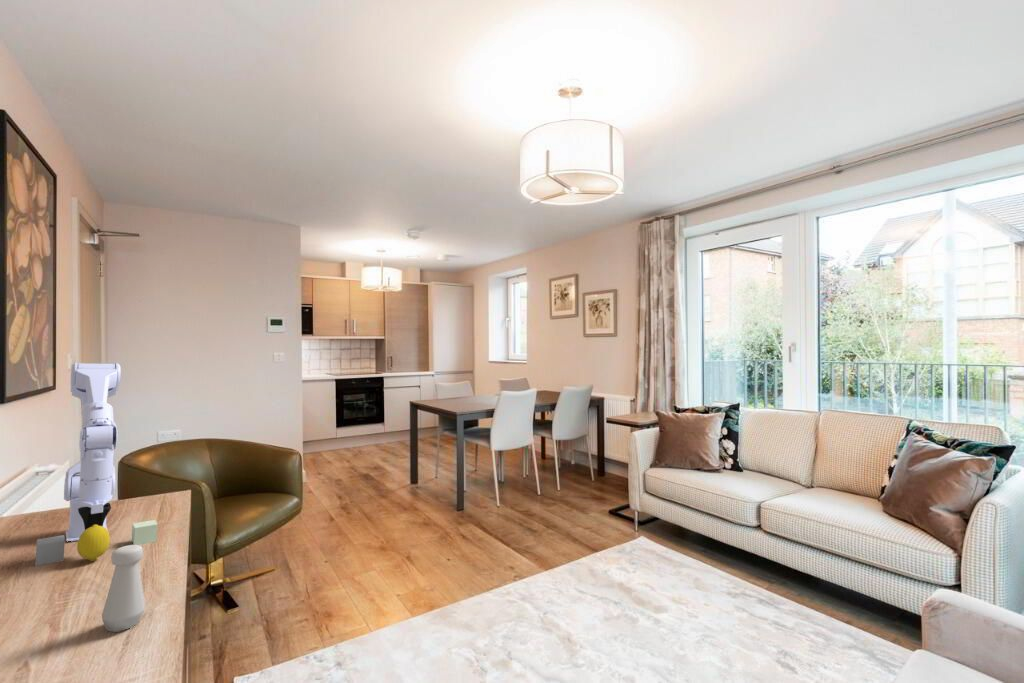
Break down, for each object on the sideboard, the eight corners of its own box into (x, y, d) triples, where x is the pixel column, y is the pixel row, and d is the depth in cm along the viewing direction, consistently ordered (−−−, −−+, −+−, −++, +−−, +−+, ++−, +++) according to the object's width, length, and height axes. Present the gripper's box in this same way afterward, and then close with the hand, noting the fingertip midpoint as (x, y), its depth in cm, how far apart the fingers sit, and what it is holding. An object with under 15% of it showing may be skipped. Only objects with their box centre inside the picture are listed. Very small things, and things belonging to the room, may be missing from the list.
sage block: (131, 541, 120) (132, 523, 120) (153, 537, 123) (154, 519, 124) (133, 547, 117) (134, 528, 117) (156, 542, 120) (157, 524, 120)
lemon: (89, 567, 105) (92, 529, 105) (69, 564, 106) (71, 527, 106) (115, 557, 110) (117, 521, 111) (95, 555, 111) (97, 519, 112)
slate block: (35, 560, 109) (36, 539, 109) (62, 554, 112) (64, 535, 112) (35, 566, 105) (36, 545, 105) (63, 560, 108) (64, 540, 109)
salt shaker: (96, 638, 78) (100, 556, 79) (106, 621, 83) (110, 544, 84) (141, 629, 81) (145, 550, 82) (147, 613, 86) (151, 539, 87)
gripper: (71, 475, 114) (68, 534, 114) (74, 487, 104) (70, 551, 103) (110, 471, 119) (107, 527, 119) (116, 482, 109) (113, 543, 108)
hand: (92, 538), depth 111 cm, fingers closed
